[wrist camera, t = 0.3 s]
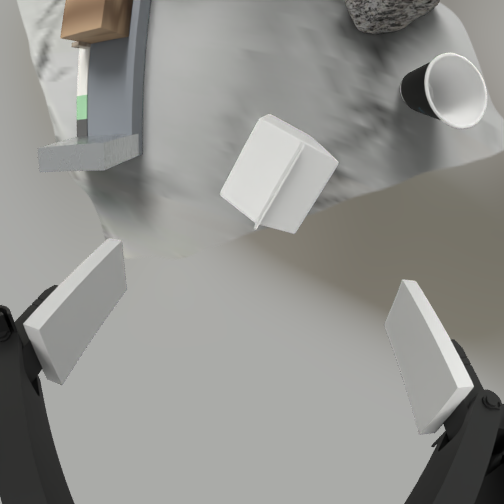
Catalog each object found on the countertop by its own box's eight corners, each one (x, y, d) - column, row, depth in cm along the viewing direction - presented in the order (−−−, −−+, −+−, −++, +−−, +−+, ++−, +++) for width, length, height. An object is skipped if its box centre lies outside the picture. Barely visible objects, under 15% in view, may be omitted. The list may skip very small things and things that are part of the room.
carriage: (89, 8, 28) (60, -2, 22) (133, -2, 27) (107, -17, 21) (84, 49, 31) (54, 44, 24) (128, 40, 30) (100, 32, 24)
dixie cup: (425, 55, 29) (468, 44, 19) (449, 109, 32) (496, 115, 22) (377, 74, 32) (411, 65, 22) (405, 130, 34) (445, 140, 24)
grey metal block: (77, 136, 37) (37, 148, 29) (138, 133, 36) (103, 142, 28) (78, 157, 38) (39, 172, 30) (138, 155, 38) (104, 170, 30)
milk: (246, 154, 38) (205, 209, 18) (269, 112, 35) (252, 117, 16) (289, 177, 39) (295, 256, 19) (313, 136, 36) (350, 172, 16)
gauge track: (92, -8, 28) (81, -13, 25) (154, -22, 27) (145, -30, 24) (83, 155, 39) (71, 159, 36) (142, 154, 39) (132, 158, 36)
